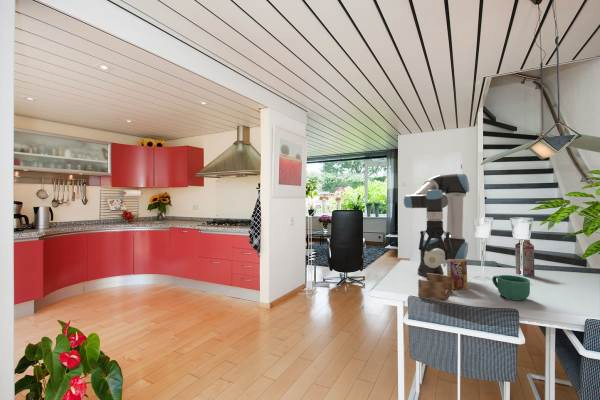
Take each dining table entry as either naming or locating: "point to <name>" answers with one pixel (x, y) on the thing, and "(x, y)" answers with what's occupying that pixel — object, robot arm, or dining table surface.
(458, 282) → the candy box
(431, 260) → the roll
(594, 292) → the dining table surface
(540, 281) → the dining table surface
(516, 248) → the juice carton
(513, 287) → the mug
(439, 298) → the cradle
